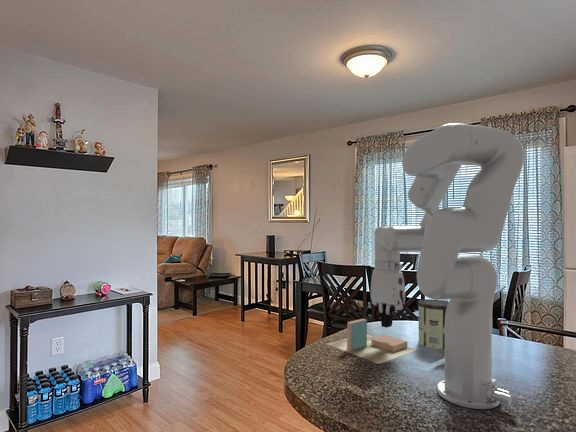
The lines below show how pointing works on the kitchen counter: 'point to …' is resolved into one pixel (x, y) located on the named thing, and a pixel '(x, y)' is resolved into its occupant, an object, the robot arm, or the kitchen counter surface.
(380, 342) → the tile right
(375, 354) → the board
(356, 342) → the tile left
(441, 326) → the coffee can
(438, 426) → the kitchen counter surface
